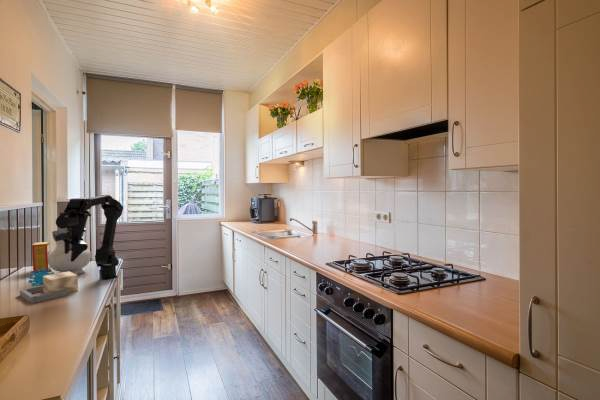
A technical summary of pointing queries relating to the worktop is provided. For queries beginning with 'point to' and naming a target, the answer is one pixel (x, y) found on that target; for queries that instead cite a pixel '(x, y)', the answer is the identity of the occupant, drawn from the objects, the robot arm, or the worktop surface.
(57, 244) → the ceramic pitcher
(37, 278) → the gear
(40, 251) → the baking soda box
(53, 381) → the worktop surface
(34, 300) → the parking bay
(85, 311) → the worktop surface
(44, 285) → the oak block
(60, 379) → the worktop surface
